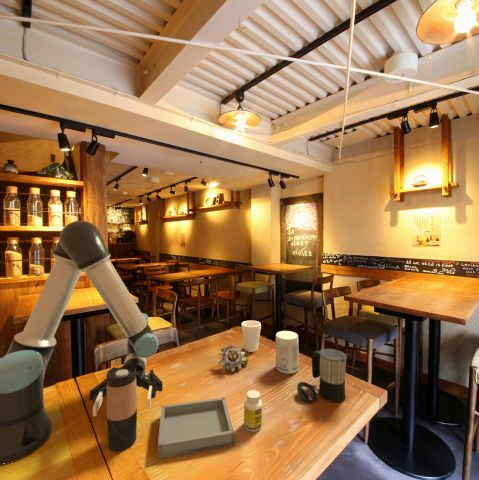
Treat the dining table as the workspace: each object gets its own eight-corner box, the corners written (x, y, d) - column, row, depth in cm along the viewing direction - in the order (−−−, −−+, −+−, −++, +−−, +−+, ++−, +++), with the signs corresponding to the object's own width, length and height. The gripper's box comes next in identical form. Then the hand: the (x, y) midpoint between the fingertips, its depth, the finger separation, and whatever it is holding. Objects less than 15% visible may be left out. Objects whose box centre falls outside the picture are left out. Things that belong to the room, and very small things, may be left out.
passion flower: (232, 383, 113) (217, 365, 109) (227, 366, 123) (213, 349, 119) (254, 367, 114) (240, 348, 110) (247, 351, 124) (234, 333, 120)
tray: (157, 458, 69) (157, 445, 69) (161, 416, 85) (161, 405, 85) (234, 445, 74) (234, 432, 74) (224, 407, 89) (224, 397, 89)
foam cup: (237, 350, 132) (237, 324, 131) (248, 344, 139) (248, 319, 139) (254, 355, 126) (254, 328, 126) (264, 348, 134) (264, 322, 133)
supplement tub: (293, 362, 120) (293, 329, 120) (302, 373, 111) (302, 338, 110) (272, 364, 118) (272, 331, 117) (280, 376, 109) (280, 340, 108)
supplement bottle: (256, 435, 77) (256, 401, 77) (240, 427, 80) (240, 395, 80) (265, 423, 82) (265, 392, 82) (249, 417, 85) (249, 386, 84)
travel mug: (126, 455, 70) (125, 380, 70) (100, 450, 72) (99, 376, 71) (142, 433, 78) (141, 365, 77) (119, 429, 79) (118, 362, 79)
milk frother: (350, 394, 97) (351, 353, 96) (330, 416, 85) (331, 370, 85) (313, 379, 106) (314, 342, 106) (292, 397, 95) (292, 355, 94)
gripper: (171, 374, 96) (169, 413, 76) (94, 383, 91) (70, 428, 70) (171, 353, 96) (169, 387, 75) (94, 361, 90) (70, 400, 70)
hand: (122, 407), depth 73 cm, fingers open, 13 cm apart
